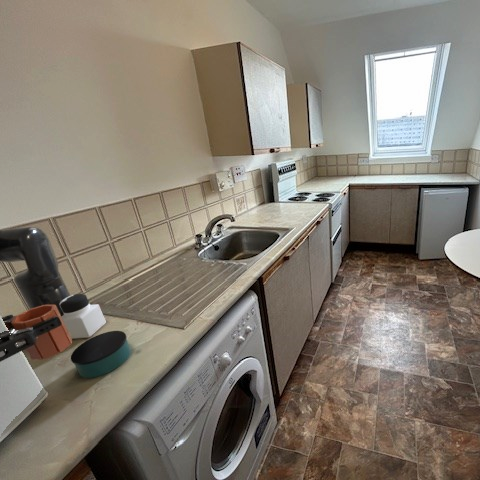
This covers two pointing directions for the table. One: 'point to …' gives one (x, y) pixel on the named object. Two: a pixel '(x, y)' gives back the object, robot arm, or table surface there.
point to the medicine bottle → (81, 316)
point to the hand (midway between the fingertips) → (53, 315)
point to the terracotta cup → (48, 341)
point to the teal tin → (101, 354)
